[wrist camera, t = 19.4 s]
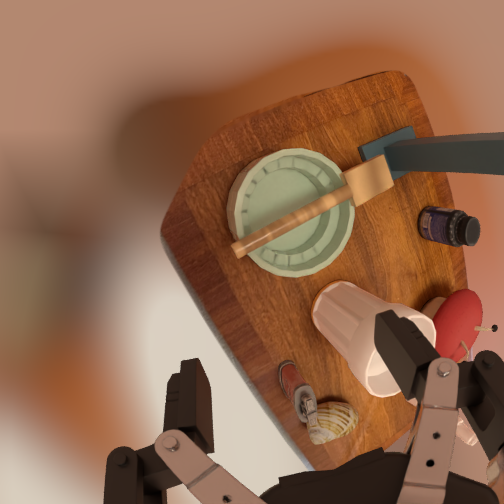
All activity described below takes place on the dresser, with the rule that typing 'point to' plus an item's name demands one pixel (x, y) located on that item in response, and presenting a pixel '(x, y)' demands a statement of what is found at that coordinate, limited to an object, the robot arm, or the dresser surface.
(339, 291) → the cup
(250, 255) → the bowl
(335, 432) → the seashell
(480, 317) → the mushroom
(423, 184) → the dresser surface
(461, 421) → the cosmetic bottle
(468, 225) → the pill bottle
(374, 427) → the dresser surface
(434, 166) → the headphone stand
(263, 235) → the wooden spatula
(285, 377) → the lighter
